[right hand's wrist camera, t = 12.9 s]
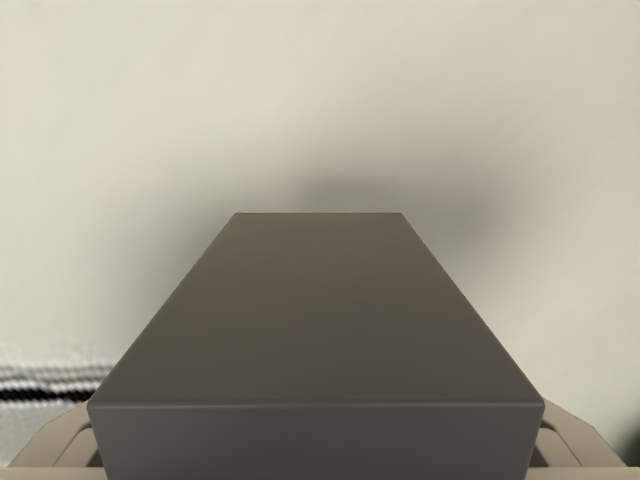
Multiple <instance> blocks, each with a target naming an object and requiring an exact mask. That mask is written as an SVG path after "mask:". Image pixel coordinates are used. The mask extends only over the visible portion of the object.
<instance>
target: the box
mask: <svg viewBox="0 0 640 480" xmlns="http://www.w3.org/2000/svg"><path fill="white" fill-rule="evenodd" d="M86 409H87V412H88V415H89V419H90V422H91V425H92V429H93V432H94V435H95V439H96V442H97V446H98V449H99V452H100V456H101V459H102V462H103V466H104V469H105V472H106V476H107V479H108V480H525V477H526V474H527V470H528V467H529V463H530V460H531V456H532V453H533V449H534V446H535V442H536V439H537V435H538V432H539V428H540V425H541V421H542V418H543V414H544V411H545V402H544V399H543V398H542V397H541V395H540V394H539V393H538V391H537V390H536V389H535V388H534V386H533V385H532V384H531V382H530V381H529V380H528V378H527V377H526V376H525V374H524V373H523V372H522V371H521V369H520V368H519V367H518V365H517V364H516V363H515V361H514V360H513V359H512V358H511V356H510V355H509V354H508V352H507V351H506V350H505V348H504V347H503V346H502V344H501V343H500V342H499V341H498V339H497V338H496V337H495V335H494V334H493V333H492V331H491V330H490V329H489V328H488V326H487V325H486V324H485V322H484V321H483V320H482V318H481V317H480V316H479V314H478V313H477V312H476V311H475V309H474V308H473V307H472V305H471V304H470V303H469V301H468V300H467V299H466V298H465V296H464V295H463V294H462V292H461V291H460V290H459V288H458V287H457V286H456V284H455V283H454V282H453V281H452V279H451V278H450V277H449V275H448V274H447V273H446V271H445V270H444V269H443V268H442V266H441V265H440V264H439V262H438V261H437V260H436V258H435V257H434V256H433V254H432V253H431V252H430V251H429V249H428V248H427V247H426V245H425V244H424V243H423V241H422V240H421V239H420V238H419V236H418V235H417V234H416V232H415V231H414V230H413V228H412V227H411V226H410V224H409V223H408V222H407V221H406V219H405V218H404V217H403V215H402V214H401V213H236V214H234V216H233V217H232V218H231V219H230V221H229V222H228V223H227V225H226V226H225V227H224V228H223V230H222V231H221V232H220V233H219V235H218V236H217V237H216V239H215V240H214V241H213V242H212V244H211V245H210V246H209V247H208V249H207V250H206V251H205V253H204V254H203V255H202V256H201V258H200V259H199V260H198V261H197V263H196V264H195V265H194V267H193V268H192V269H191V270H190V272H189V273H188V274H187V275H186V277H185V278H184V279H183V281H182V282H181V283H180V284H179V286H178V287H177V288H176V289H175V291H174V292H173V293H172V295H171V296H170V297H169V298H168V300H167V301H166V302H165V303H164V305H163V306H162V307H161V309H160V310H159V311H158V312H157V314H156V315H155V316H154V317H153V319H152V320H151V321H150V323H149V324H148V325H147V326H146V328H145V329H144V330H143V331H142V333H141V334H140V335H139V337H138V338H137V339H136V340H135V342H134V343H133V344H132V345H131V347H130V348H129V349H128V351H127V352H126V353H125V354H124V356H123V357H122V358H121V359H120V361H119V362H118V363H117V365H116V366H115V367H114V368H113V370H112V371H111V372H110V373H109V375H108V376H107V377H106V379H105V380H104V381H103V382H102V384H101V385H100V386H99V387H98V389H97V390H96V391H95V393H94V394H93V395H92V396H91V398H90V399H89V400H88V403H87V408H86Z"/></svg>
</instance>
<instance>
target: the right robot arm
mask: <svg viewBox="0 0 640 480" xmlns="http://www.w3.org/2000/svg"><path fill="white" fill-rule="evenodd" d="M541 397H542V396H541ZM542 398H543V397H542ZM543 399H544V402H545V411H544V414H543V418H542V421H541V425H540V428H539V432H538V435H537V439H536V442H535V446H534V449H533V453H532V456H531V460H530V463H529V467H528V470H527V474H526V477H525V480H640V467H627V466H626V464H625V463H624V462H623V461H622V460H621V459H620V457H619V456H618V455H617V454H616V453H615V452H614V450H613V449H612V448H611V447H610V446H609V445H608V443H607V442H606V441H605V440H604V439H603V438H602V436H601V435H600V434H599V433H598V432H597V430H596V429H595V428H594V427H593V426H591V425H589V424H588V423H586V422H584V421H582V420H581V419H579V418H577V417H576V416H574V415H572V414H570V413H569V412H567V411H565V410H564V409H562V408H560V407H559V406H557V405H555V404H553V403H552V402H550V401H548V400H547V399H545V398H543ZM87 403H88V400H87V401H85V402H84V403H82V404H80V405H79V406H77V407H75V408H73V409H72V410H70V411H68V412H67V413H65V414H63V415H61V416H60V417H58V418H56V419H54V420H53V421H51V422H49V423H48V424H46V425H44V426H42V428H41V429H40V430H39V431H38V432H37V433H36V434H35V436H34V437H33V438H32V439H31V440H30V441H29V442H28V444H27V445H26V446H25V447H24V448H23V449H22V450H21V452H20V453H19V454H18V455H17V456H16V457H15V458H14V460H13V461H12V462H11V463H10V464H9V465H8V466H7V467H0V480H108V479H107V476H106V472H105V469H104V466H103V462H102V459H101V456H100V452H99V449H98V446H97V442H96V439H95V435H94V432H93V429H92V425H91V422H90V419H89V415H88V412H87V409H86V408H87Z"/></svg>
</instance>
